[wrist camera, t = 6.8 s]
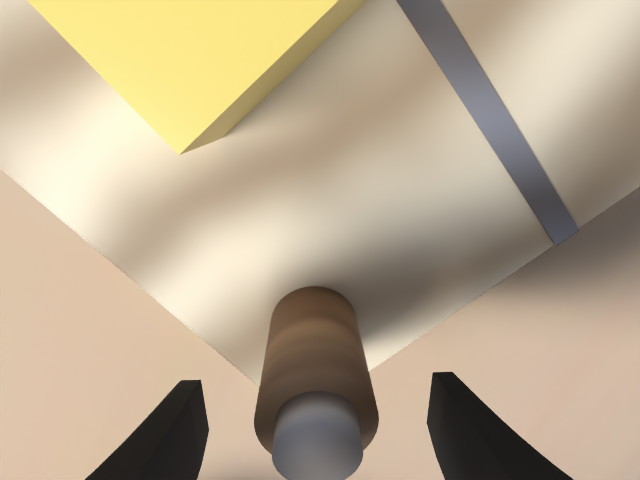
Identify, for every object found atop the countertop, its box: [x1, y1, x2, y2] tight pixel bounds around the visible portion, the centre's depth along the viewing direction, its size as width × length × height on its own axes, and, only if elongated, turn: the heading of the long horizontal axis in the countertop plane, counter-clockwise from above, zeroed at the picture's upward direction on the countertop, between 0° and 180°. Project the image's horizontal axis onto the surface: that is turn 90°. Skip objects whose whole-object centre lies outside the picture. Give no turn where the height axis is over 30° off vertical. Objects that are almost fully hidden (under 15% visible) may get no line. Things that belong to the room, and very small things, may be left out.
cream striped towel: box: [0, 0, 640, 387], centre depth 13 cm, size 19×20×1 cm
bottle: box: [254, 286, 379, 480], centre depth 12 cm, size 4×4×6 cm
